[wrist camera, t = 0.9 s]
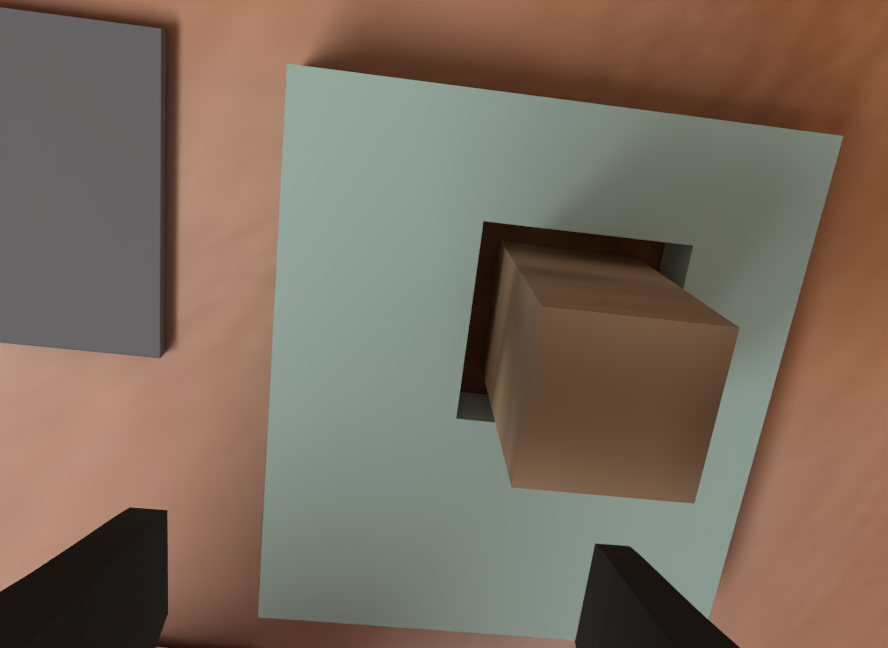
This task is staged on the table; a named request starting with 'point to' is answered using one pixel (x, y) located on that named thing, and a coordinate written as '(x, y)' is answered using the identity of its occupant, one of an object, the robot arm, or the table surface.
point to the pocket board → (446, 330)
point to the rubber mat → (82, 184)
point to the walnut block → (602, 374)
